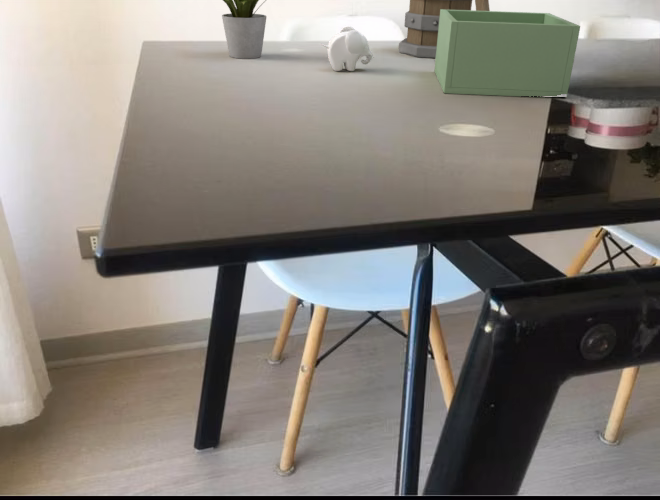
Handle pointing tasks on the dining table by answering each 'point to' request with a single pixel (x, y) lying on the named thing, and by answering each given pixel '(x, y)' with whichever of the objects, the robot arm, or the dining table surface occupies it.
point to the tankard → (430, 24)
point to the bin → (504, 53)
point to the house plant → (244, 29)
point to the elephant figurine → (347, 49)
